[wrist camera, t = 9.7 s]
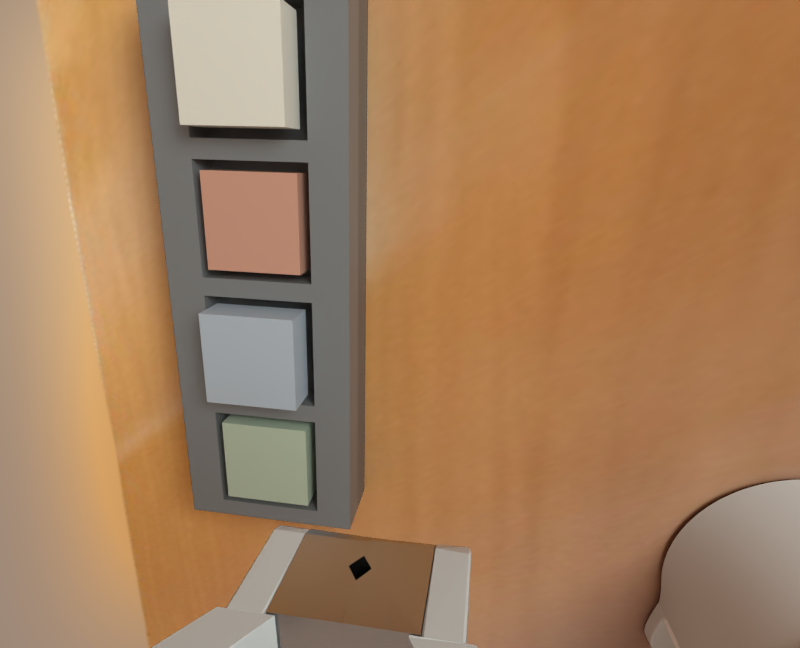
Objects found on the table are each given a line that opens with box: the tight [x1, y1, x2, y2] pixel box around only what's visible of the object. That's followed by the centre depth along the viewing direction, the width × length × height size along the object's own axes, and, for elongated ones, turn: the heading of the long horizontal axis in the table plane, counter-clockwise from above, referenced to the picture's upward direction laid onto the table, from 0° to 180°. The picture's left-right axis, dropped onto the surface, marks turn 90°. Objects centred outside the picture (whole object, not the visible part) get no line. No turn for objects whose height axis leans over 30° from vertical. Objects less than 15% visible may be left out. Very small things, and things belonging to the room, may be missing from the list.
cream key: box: [168, 0, 300, 129], centre depth 23 cm, size 5×5×2 cm
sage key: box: [222, 414, 317, 506], centre depth 31 cm, size 5×5×2 cm
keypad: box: [136, 0, 368, 529], centre depth 29 cm, size 29×10×4 cm, turn 178°
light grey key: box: [198, 303, 308, 411], centre depth 28 cm, size 5×5×2 cm
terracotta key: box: [199, 169, 311, 275], centre depth 27 cm, size 5×5×2 cm
